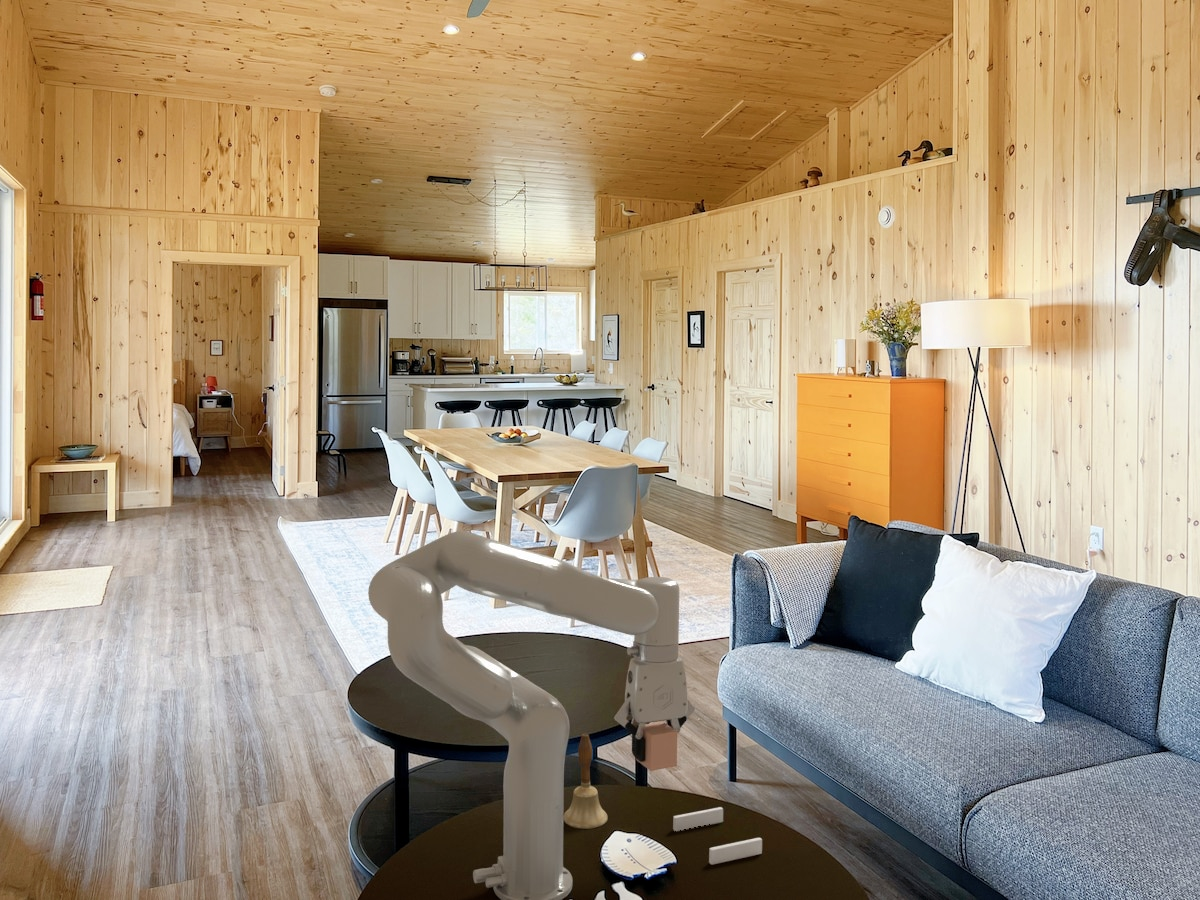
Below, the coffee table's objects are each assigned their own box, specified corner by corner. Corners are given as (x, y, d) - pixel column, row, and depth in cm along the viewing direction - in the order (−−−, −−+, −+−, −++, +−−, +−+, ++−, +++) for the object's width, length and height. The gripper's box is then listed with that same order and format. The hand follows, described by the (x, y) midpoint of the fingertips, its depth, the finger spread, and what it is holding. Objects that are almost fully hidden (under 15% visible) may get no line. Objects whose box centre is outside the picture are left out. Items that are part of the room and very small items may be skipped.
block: (650, 771, 152) (651, 735, 152) (636, 760, 157) (637, 725, 156) (676, 766, 154) (677, 731, 154) (661, 755, 159) (662, 721, 159)
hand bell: (595, 832, 165) (596, 745, 164) (555, 823, 169) (555, 737, 168) (614, 814, 172) (616, 730, 172) (575, 805, 176) (576, 723, 175)
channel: (711, 864, 154) (711, 850, 154) (673, 829, 166) (673, 816, 166) (761, 853, 158) (762, 839, 158) (720, 820, 170) (721, 806, 170)
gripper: (619, 662, 148) (618, 772, 149) (711, 652, 155) (709, 757, 156) (601, 650, 155) (599, 755, 156) (689, 641, 162) (687, 742, 163)
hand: (654, 755), depth 156 cm, fingers closed on block, 5 cm apart
